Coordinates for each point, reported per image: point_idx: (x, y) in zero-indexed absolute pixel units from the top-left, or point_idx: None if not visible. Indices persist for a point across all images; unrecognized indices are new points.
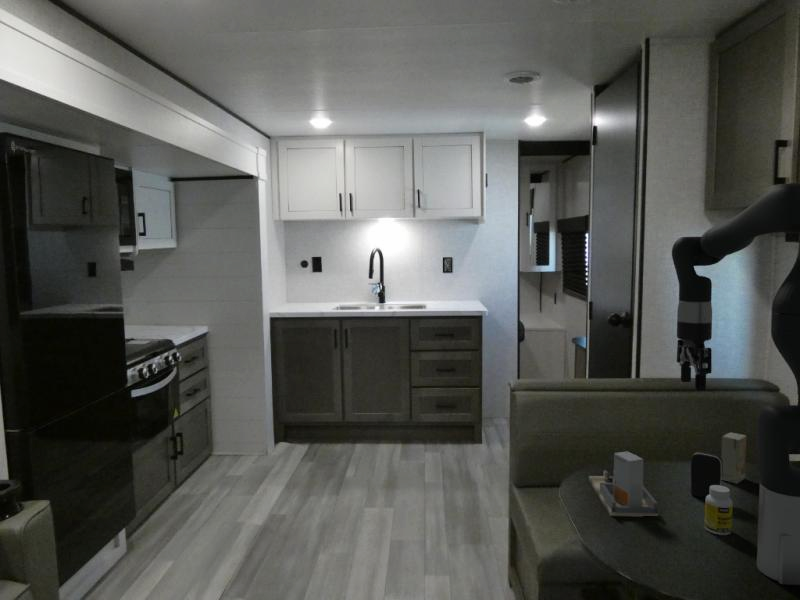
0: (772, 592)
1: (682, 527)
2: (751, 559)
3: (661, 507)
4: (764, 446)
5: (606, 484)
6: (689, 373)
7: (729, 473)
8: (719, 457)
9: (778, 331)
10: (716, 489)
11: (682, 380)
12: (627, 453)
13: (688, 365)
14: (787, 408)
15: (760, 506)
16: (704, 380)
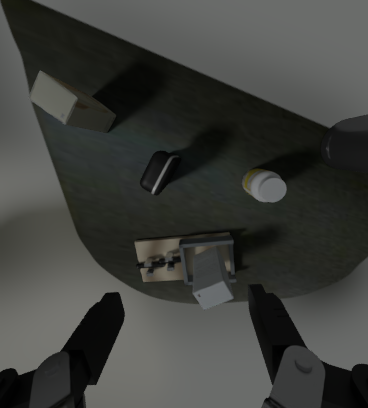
0: None
1: (251, 214)
2: (318, 167)
3: (204, 223)
4: None
5: (187, 279)
6: (102, 325)
7: (106, 122)
8: (162, 157)
9: None
10: (277, 195)
11: (122, 320)
12: (202, 295)
13: (76, 372)
14: None
15: None
16: (292, 327)
